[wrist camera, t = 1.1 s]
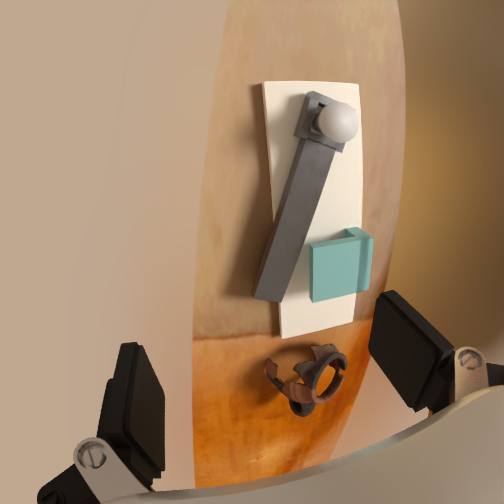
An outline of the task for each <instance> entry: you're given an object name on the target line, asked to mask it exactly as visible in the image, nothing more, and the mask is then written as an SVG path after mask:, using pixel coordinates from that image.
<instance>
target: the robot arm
mask: <svg viewBox="0 0 504 504" xmlns="http://www.w3.org/2000/svg"><path fill="white" fill-rule="evenodd" d="M368 349H369V353H370V354H371V356H372V357H373V358H374V360H375V361H376V362H377V364H378V365H379V367H380V368H381V369H382V371H383V372H384V374H385V375H386V376H387V378H388V379H389V380H390V382H391V383H392V385H393V386H394V387H395V389H396V390H397V392H398V393H399V394H400V396H401V397H402V399H403V400H404V402H405V403H406V405H407V406H408V407H410V408H413V410H414V411H415V413H416V412H418V411H420V410H421V409H423V408H425V407H426V406H427V408H428V409H429V414H428V418H426V419H424V420H423V421H421V422H419V423H417V424H415V425H413V426H411V427H409V428H407V429H405V430H403V431H401V432H399V433H397V434H395V435H393V436H391V437H389V438H386V439H384V440H382V441H380V442H378V443H375V444H373V445H370V446H368V447H366V448H363V449H361V450H358V451H355V452H353V453H350V454H348V455H345V456H342V457H339V458H336V459H333V460H331V461H328V462H324V463H321V464H318V465H315V466H312V467H308V468H305V469H301V470H297V471H294V472H290V473H286V474H282V475H278V476H273V477H269V478H264V479H259V480H254V481H248V482H243V483H237V484H230V485H223V486H215V487H207V488H197V489H186V490H171V491H158V492H156V491H155V490H154V489H153V488H152V487H151V485H152V484H153V478H161V471H165V395H164V391H163V389H162V387H161V385H160V383H159V381H158V378H157V376H156V374H155V372H154V370H153V368H152V365H151V363H150V361H149V359H148V356H147V354H146V352H145V349H144V347H143V346H142V345H138V344H137V342H131V343H122V344H121V347H120V351H119V355H118V359H117V363H116V368H115V372H114V376H113V378H112V379H109V380H108V382H107V385H106V390H105V394H104V399H103V404H102V409H101V414H100V419H99V425H98V430H97V436H96V438H95V437H92V438H87V439H85V440H83V441H81V442H80V443H79V444H78V445H77V447H76V448H75V450H74V454H73V456H74V457H73V458H74V462H75V463H74V464H73V465H72V466H70V467H69V468H68V469H66V470H65V471H64V472H62V473H61V474H59V475H58V476H57V477H55V478H54V479H53V480H51V481H50V482H48V483H47V484H46V485H44V486H43V487H42V488H41V489H40V491H39V492H38V495H37V503H38V504H504V366H503V365H497V364H490V363H486V360H485V357H484V356H483V354H482V353H481V352H480V351H479V350H476V349H475V348H472V347H463V348H460V349H459V350H457V352H456V353H455V352H454V351H453V349H454V346H453V345H452V344H451V343H450V342H449V341H448V340H447V339H445V337H443V335H441V333H440V332H438V331H437V330H436V329H435V328H434V327H433V326H432V325H431V324H430V323H429V322H428V321H427V320H426V319H425V318H424V317H423V316H422V315H421V314H420V313H419V312H417V311H416V310H415V309H414V308H413V307H412V306H411V305H410V304H409V303H408V302H407V301H406V300H405V299H403V298H402V297H401V296H400V295H399V294H398V293H397V292H396V291H394V290H390V291H387V292H383V293H381V294H380V295H379V297H378V298H377V299H376V305H375V311H374V317H373V323H372V329H371V334H370V340H369V345H368Z"/></svg>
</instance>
